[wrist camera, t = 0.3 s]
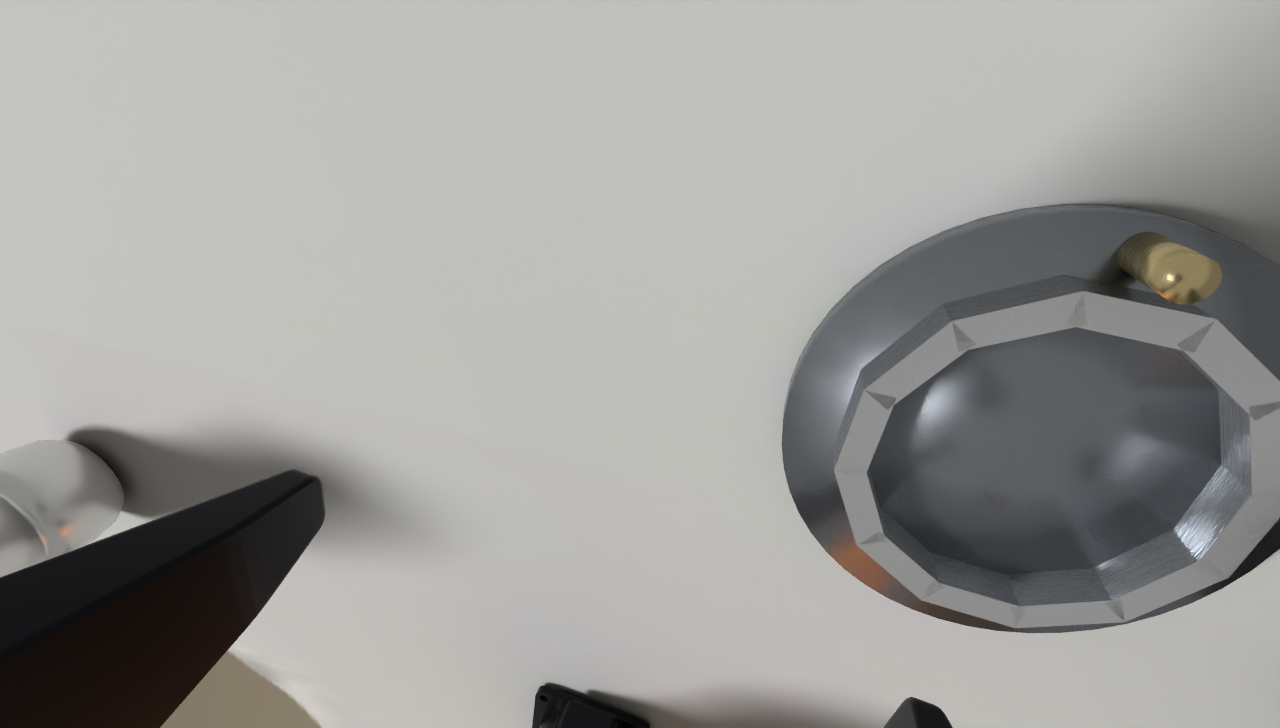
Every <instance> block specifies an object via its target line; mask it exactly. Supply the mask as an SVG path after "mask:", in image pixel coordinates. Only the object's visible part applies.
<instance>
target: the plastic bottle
mask: <svg viewBox="0 0 1280 728" xmlns="http://www.w3.org/2000/svg"><path fill="white" fill-rule="evenodd" d="M124 499H125V498H124V492H123V489H122V486H121V484H120V482H119V480H118V478H117V477H116V475H115V474H114V472H113V471H112V470H111V469H110V467H109V466H108V465H107V464H106V463H105V462H104V461H103V460H102V459H101V458H100V457H98V456H97V455H96V454H95V453H93V452H92V451H90V450H89V449H87V448H86V447H84V446H82V445H80V444H77V443H75V442H72V441H68V440H41V441H36V442H33V443H30V444H27V445H24V446H21V447H18V448H15V449H12V450H9V451H6V452H4V453H2V454H1V455H0V577H2V576H5V575H8V574H10V573H13V572H16V571H18V570H21V569H24V568H26V567H29V566H32V565H34V564H37V563H40V562H43V561H45V560H48V559H51V558H53V557H56V556H59V555H61V554H64V553H67V552H69V551H72V550H75V549H78V548H80V547H83V546H85V545H87V544H89V543H91V542H92V541H93V540H95V539H96V538H97V537H98V536H99V535H100V534H101V533H103V532H104V531H105V530H106V529H107V528H108V527H109V526H111V525H112V524H113V523H114V522H115V521H116V519H117V518H118V516H119V513H120V511H121V509H122V507H123V505H124Z"/></svg>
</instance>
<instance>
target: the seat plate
mask: <svg viewBox="0 0 1280 728" xmlns="http://www.w3.org/2000/svg"><path fill="white" fill-rule="evenodd" d="M782 452H783V462H784V470H785V474H786V478H787V482H788V486H789V490H790V492H791V495H792V497H793V500H794V502H795V504H796V507H797V509H798V511H799V513H800V515H801V517H802V518H803V520H804V522H805V523H806V525H807V527H808V528H809V530H810V532H811V533H812V534H813V536H814V537H815V538H816V539H817V541H818V542H819V543H820V544H821V545H822V547H823V548H824V549H825V550H826V552H827V553H828V554H829V555H831V556H832V557H833V558H834V559H835V560H836V561H837V562H838V563H839V564H840V565H841V566H842V567H843V568H844V569H845V570H847V571H848V572H849V573H851V574H852V575H853V576H855V577H856V578H857V579H859V580H860V581H861V582H863V583H864V584H865V585H867V586H869V587H870V588H872V589H874V590H875V591H877V592H879V593H880V594H882V595H884V596H885V597H887V598H889V599H891V600H893V601H896V602H898V603H900V604H902V605H904V606H906V607H909V608H911V609H913V610H916V611H919V612H922V613H924V614H927V615H930V616H933V617H936V618H939V619H942V620H946V621H950V622H954V623H958V624H962V625H966V626H972V627H978V628H984V629H990V630H997V631H1009V632H1023V633H1062V632H1073V631H1084V630H1094V629H1100V628H1105V627H1111V626H1116V625H1122V624H1127V623H1131V622H1135V621H1138V620H1142V619H1146V618H1149V617H1153V616H1157V615H1160V614H1163V613H1166V612H1168V611H1171V610H1174V609H1177V608H1179V607H1182V606H1185V605H1187V604H1190V603H1193V602H1195V601H1197V600H1199V599H1201V598H1203V597H1205V596H1207V595H1209V594H1211V593H1213V592H1215V591H1218V590H1220V589H1222V588H1224V587H1225V586H1227V585H1228V584H1230V583H1232V582H1233V581H1235V580H1237V579H1238V578H1240V577H1242V576H1243V575H1245V574H1246V573H1248V572H1250V571H1251V570H1253V569H1254V568H1255V567H1257V566H1258V565H1259V564H1261V563H1262V562H1263V561H1264V560H1266V559H1267V558H1268V557H1270V556H1271V555H1272V554H1273V553H1275V552H1276V551H1277V550H1279V549H1280V267H1279V266H1278V265H1277V264H1275V263H1274V262H1272V261H1270V260H1269V259H1267V258H1265V257H1264V256H1262V255H1260V254H1259V253H1257V252H1255V251H1253V250H1252V249H1250V248H1248V247H1247V246H1245V245H1243V244H1242V243H1239V242H1237V241H1234V240H1232V239H1230V238H1227V237H1225V236H1223V235H1220V234H1218V233H1215V232H1213V231H1210V230H1208V229H1205V228H1203V227H1201V226H1198V225H1196V224H1193V223H1191V222H1188V221H1186V220H1183V219H1179V218H1175V217H1171V216H1167V215H1163V214H1159V213H1155V212H1151V211H1147V210H1142V209H1134V208H1126V207H1118V206H1110V205H1055V206H1045V207H1036V208H1027V209H1020V210H1015V211H1011V212H1006V213H1002V214H997V215H993V216H988V217H984V218H980V219H977V220H974V221H972V222H969V223H966V224H963V225H960V226H957V227H954V228H951V229H948V230H945V231H943V232H941V233H939V234H937V235H934V236H932V237H930V238H928V239H926V240H924V241H922V242H920V243H917V244H915V245H913V246H911V247H909V248H908V249H906V250H904V251H903V252H901V253H900V254H898V255H896V256H895V257H893V258H892V259H890V260H888V261H887V262H885V263H883V264H882V265H880V266H879V267H878V268H876V269H875V270H874V271H873V272H871V273H870V274H869V275H868V276H866V277H865V278H864V279H862V280H861V281H860V282H859V283H857V284H856V285H855V286H854V287H853V288H852V289H851V290H850V291H849V292H848V293H847V294H846V295H845V296H844V297H843V298H842V299H841V300H840V301H839V302H838V303H837V304H836V305H835V306H834V307H833V308H832V309H831V310H830V312H829V313H828V314H827V316H826V317H825V318H824V319H823V321H822V322H821V323H820V325H819V326H818V327H817V329H816V330H815V331H814V333H813V334H812V336H811V338H810V340H809V341H808V343H807V345H806V347H805V349H804V350H803V352H802V354H801V356H800V358H799V360H798V363H797V365H796V368H795V370H794V373H793V376H792V378H791V381H790V385H789V389H788V394H787V398H786V403H785V408H784V419H783V434H782Z"/></svg>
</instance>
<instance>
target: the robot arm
mask: <svg viewBox="0 0 1280 728" xmlns="http://www.w3.org/2000/svg"><path fill="white" fill-rule="evenodd" d="M324 518H325V505H324V496H323V486H322V481H321V479H320V478H319V477H318V476H316V475H313V474H311V473H308V472H305V471H302V470H299V469H292V470H288V471H285V472H282V473H280V474H277V475H274V476H272V477H269V478H266V479H263V480H261V481H258V482H255V483H253V484H250V485H247V486H245V487H242V488H239V489H236V490H234V491H231V492H228V493H226V494H223V495H220V496H218V497H215V498H212V499H210V500H207V501H204V502H201V503H199V504H196V505H193V506H191V507H188V508H185V509H183V510H180V511H177V512H175V513H172V514H169V515H166V516H164V517H161V518H158V519H156V520H153V521H150V522H148V523H145V524H142V525H140V526H137V527H134V528H131V529H129V530H126V531H123V532H121V533H118V534H115V535H113V536H110V537H107V538H105V539H102V540H99V541H96V542H94V543H91V544H88V545H86V546H83V547H80V548H78V549H75V550H72V551H69V552H67V553H64V554H61V555H59V556H56V557H53V558H51V559H48V560H45V561H43V562H40V563H37V564H34V565H32V566H29V567H26V568H24V569H21V570H18V571H16V572H13V573H10V574H8V575H5V576H2V577H0V728H160V727H161V726H162V725H163V723H164V722H165V721H166V720H167V719H168V718H169V717H170V715H171V714H172V713H173V712H174V711H175V710H176V709H177V707H178V706H179V705H180V704H181V703H182V702H183V701H184V699H185V698H186V697H187V696H188V694H190V692H191V691H192V690H193V689H194V688H195V687H196V686H197V684H198V683H199V682H200V681H201V680H202V679H203V678H204V676H205V675H206V674H207V673H208V672H209V671H210V669H211V668H212V667H213V666H214V665H215V664H216V663H217V661H218V660H219V659H220V658H221V657H222V656H223V655H224V653H225V652H226V651H227V650H228V649H229V648H230V647H231V645H232V644H233V643H234V642H235V641H236V640H237V639H238V637H239V636H240V635H241V634H242V633H243V632H244V631H245V629H246V628H247V627H248V626H249V625H250V623H251V622H252V621H253V620H254V619H255V617H256V616H257V615H258V614H259V612H260V611H261V610H262V608H263V607H264V606H265V605H266V603H267V602H268V601H269V599H270V598H271V596H272V595H273V594H274V592H275V591H276V589H277V588H278V587H279V585H280V584H281V582H282V581H283V580H284V578H285V577H286V575H287V574H288V573H289V571H290V570H291V569H292V567H293V566H294V564H295V563H296V562H297V560H298V559H299V557H300V556H301V555H302V553H303V552H304V550H305V549H306V548H307V546H308V545H309V543H310V542H311V541H312V539H313V538H314V536H315V535H316V534H317V532H318V531H319V529H320V528H321V526H322V524H323V521H324ZM532 728H650V725H649V724H648V723H647V722H646V721H644V720H641V719H639V718H636V717H633V716H630V715H627V714H624V713H622V712H619V711H616V710H613V709H610V708H607V707H605V706H602V705H599V704H596V703H593V702H590V701H588V700H585V699H582V698H579V697H576V696H573V695H571V694H568V693H565V692H562V691H559V690H556V689H554V688H551V687H548V686H540V687H539V689H538V691H537V694H536V697H535V707H534V716H533V726H532ZM884 728H952V726H951V724H950V722H949V720H948V719H947V717H946V715H945V714H944V712H943V711H942V710H941V709H940V708H939V707H937V706H935V705H933V704H930V703H927V702H925V701H922V700H919V699H917V698H913V697H910V698H907V699H906V700H904V701H903V703H902V704H901V705H900V707H899V708H898V709H897V710H896V712H895V713H894V714H893V716H892V717H891V718H890V719H889V721H888V722H887V723H886V725H885V726H884Z"/></svg>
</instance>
